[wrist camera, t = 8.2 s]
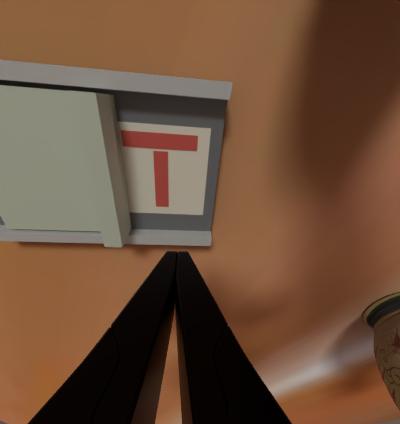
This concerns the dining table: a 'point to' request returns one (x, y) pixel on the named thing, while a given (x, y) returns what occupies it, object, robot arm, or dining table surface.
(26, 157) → the sage shutter
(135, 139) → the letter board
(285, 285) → the dining table surface
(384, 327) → the amphora
